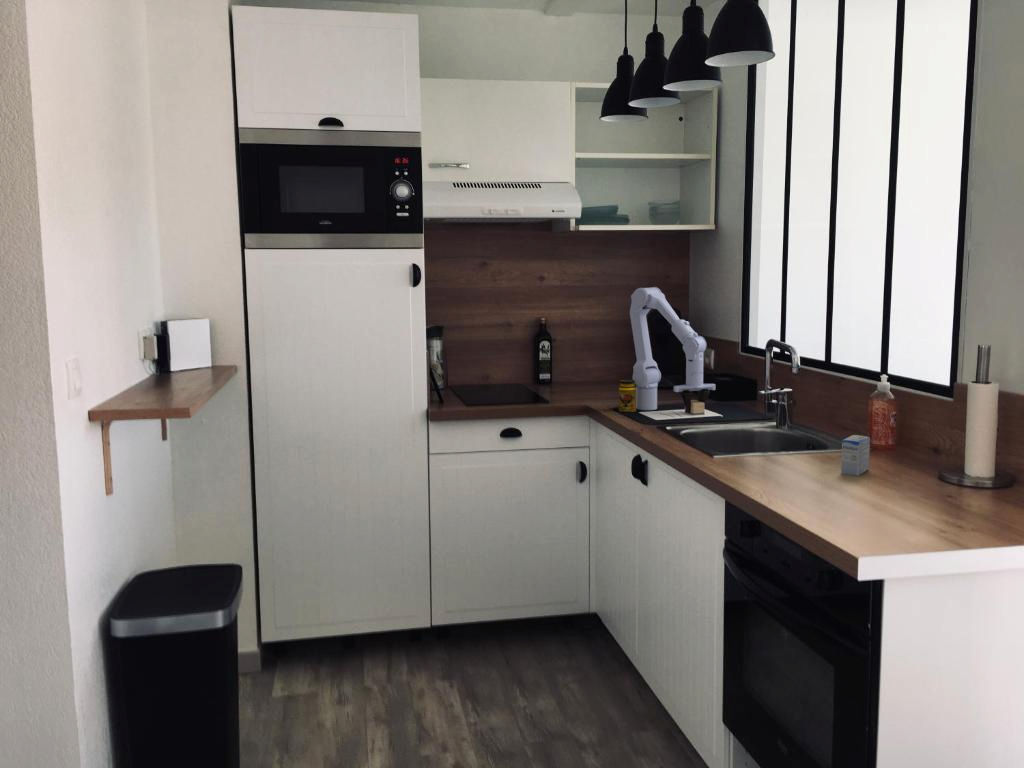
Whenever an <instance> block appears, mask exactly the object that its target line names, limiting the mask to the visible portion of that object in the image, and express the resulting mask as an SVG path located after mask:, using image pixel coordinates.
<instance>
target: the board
mask: <svg viewBox="0 0 1024 768" xmlns="http://www.w3.org/2000/svg"><path fill="white" fill-rule="evenodd" d="M638 413H639V414H641V415H643V416H646V417H648V418H650V419H653V420H655V421H661V420H664V421H665V420H675V419H693V418H705V417H706V418H707V417H722V418H723V416H724V415H722V414H719V413H717V412H714V411H711V410H708V409H705V408H704V415H691V414H688V413H686V412H685V408H684V409H670V410H669V409H667V410H655V411H654V410H651V411H640V412H638Z"/></svg>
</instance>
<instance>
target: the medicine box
mask: <svg viewBox="0 0 1024 768" xmlns="http://www.w3.org/2000/svg"><path fill="white" fill-rule="evenodd" d="M870 451H871V437H869V436H865V435H860V434H859V435H858V434H852V435H850V436H848V437H846V438H844V439H842V440H841V465H840V466H841V467H840V470H841V471H840V473H841V474H842V475H848V476H853V477H854V476H855V477H857V476H861V475H862V474H863V473H865V472H867V471H869V470H870V457H871V456H870V455H871V454H870V453H871V452H870Z"/></svg>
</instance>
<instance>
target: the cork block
mask: <svg viewBox="0 0 1024 768" xmlns="http://www.w3.org/2000/svg"><path fill="white" fill-rule="evenodd" d="M684 409H685V412H686V408H685V407H684ZM704 409H705V405H704V403H703V402H700V401H698V399H697V400H696V399H691V411H690V413H688V412H686V413H688V414H691V415H704Z"/></svg>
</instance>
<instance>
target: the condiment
mask: <svg viewBox="0 0 1024 768" xmlns="http://www.w3.org/2000/svg"><path fill="white" fill-rule="evenodd" d="M618 411H619V412H621V413H622V412H624V413H634V412H637V408H636V385H635V381H634V380H633V379H621V380H619V388H618Z"/></svg>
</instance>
